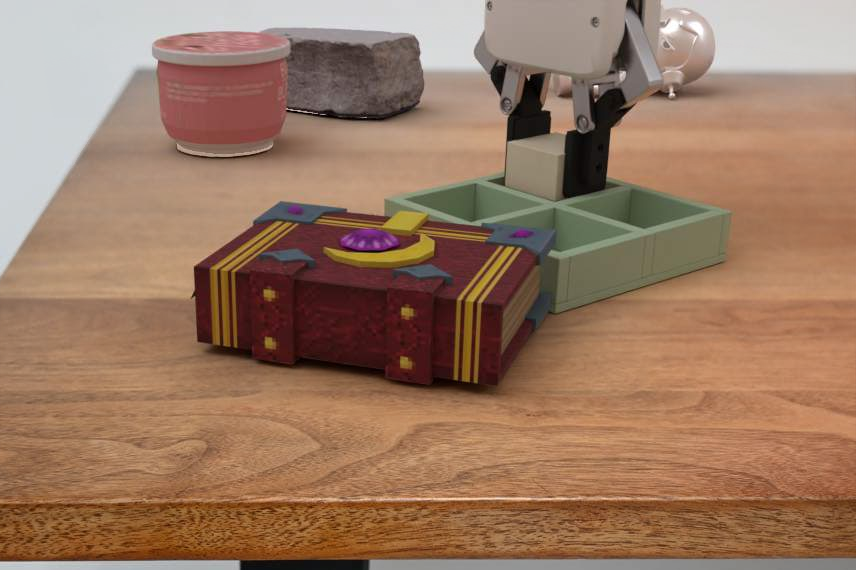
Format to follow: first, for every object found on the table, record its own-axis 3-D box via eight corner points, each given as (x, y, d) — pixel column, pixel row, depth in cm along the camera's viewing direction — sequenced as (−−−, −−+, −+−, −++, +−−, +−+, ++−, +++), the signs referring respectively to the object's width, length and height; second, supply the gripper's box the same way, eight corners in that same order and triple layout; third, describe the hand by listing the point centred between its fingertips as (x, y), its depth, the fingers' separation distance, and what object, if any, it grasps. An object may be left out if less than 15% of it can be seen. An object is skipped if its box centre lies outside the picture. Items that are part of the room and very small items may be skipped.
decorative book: (499, 400, 55) (504, 293, 53) (170, 350, 60) (164, 251, 58) (551, 312, 65) (557, 219, 63) (264, 276, 70) (262, 189, 68)
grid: (548, 206, 82) (551, 161, 81) (726, 261, 72) (732, 210, 71) (383, 246, 75) (384, 197, 74) (555, 314, 65) (559, 258, 63)
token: (552, 175, 79) (555, 131, 78) (603, 189, 76) (607, 144, 75) (504, 186, 77) (507, 141, 76) (554, 201, 74) (558, 155, 73)
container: (214, 125, 105) (210, 27, 102) (318, 141, 99) (317, 38, 96) (129, 150, 97) (122, 45, 94) (237, 169, 91) (233, 58, 88)
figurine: (540, 1, 114) (703, -33, 114) (535, 49, 121) (689, 17, 120) (570, 98, 110) (739, 63, 110) (563, 142, 117) (722, 109, 117)
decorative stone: (421, 126, 105) (425, 97, 114) (422, 43, 102) (426, 20, 111) (247, 125, 107) (265, 96, 116) (243, 43, 104) (262, 20, 113)
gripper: (746, -135, 65) (705, 206, 72) (517, -141, 78) (502, 150, 85) (651, -131, 61) (618, 230, 68) (425, -138, 74) (417, 167, 81)
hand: (554, 182), depth 77 cm, fingers closed on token, 4 cm apart
